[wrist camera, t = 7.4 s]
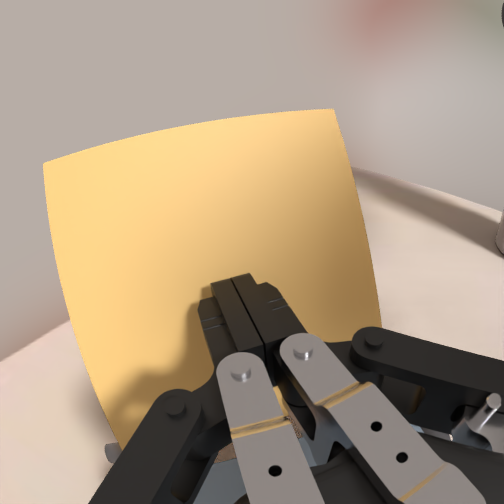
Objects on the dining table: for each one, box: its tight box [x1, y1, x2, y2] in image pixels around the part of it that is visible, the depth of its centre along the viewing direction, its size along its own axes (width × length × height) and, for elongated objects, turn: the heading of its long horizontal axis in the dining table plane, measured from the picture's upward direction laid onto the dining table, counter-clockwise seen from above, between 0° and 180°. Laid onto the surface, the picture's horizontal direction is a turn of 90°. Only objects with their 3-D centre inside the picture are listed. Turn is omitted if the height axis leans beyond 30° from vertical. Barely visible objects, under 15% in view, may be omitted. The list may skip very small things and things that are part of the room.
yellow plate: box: [43, 109, 382, 463], centre depth 13 cm, size 2×15×14 cm
